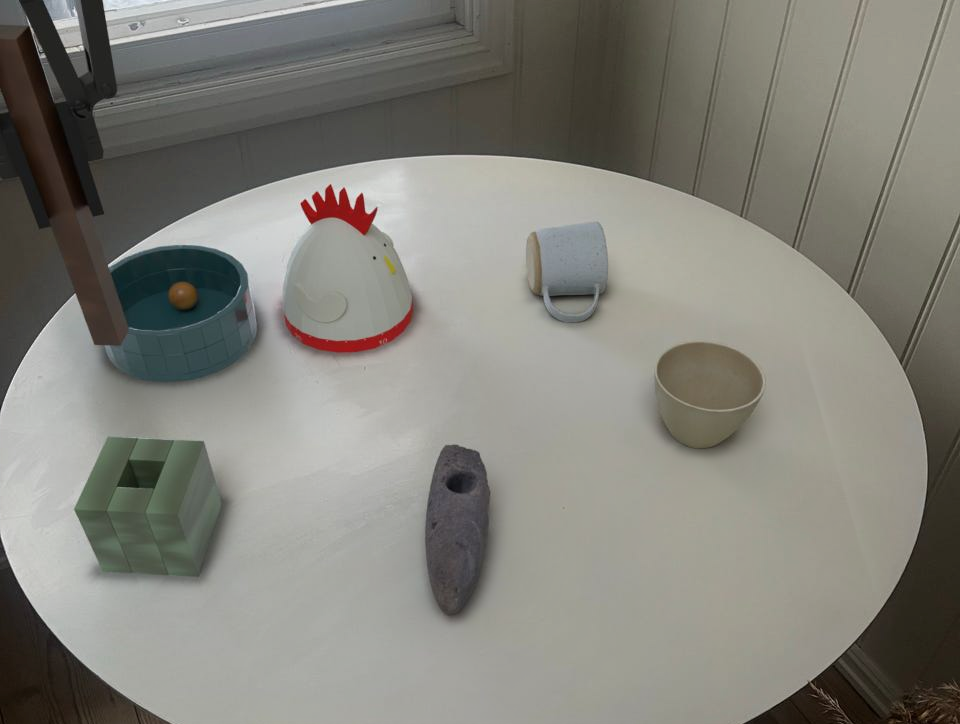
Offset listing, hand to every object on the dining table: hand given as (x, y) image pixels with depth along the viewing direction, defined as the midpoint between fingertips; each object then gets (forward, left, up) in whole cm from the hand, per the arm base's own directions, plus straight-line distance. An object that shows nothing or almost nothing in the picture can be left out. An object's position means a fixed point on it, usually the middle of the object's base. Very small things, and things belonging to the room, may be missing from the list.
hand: (67, 211), depth 61 cm
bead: (-5, +26, -26) cm, 37 cm away
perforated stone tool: (+26, -5, -29) cm, 39 cm away
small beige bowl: (+48, +12, -29) cm, 57 cm away
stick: (0, 0, -11) cm, 11 cm away
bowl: (-5, +23, -29) cm, 37 cm away
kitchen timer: (+12, +28, -29) cm, 42 cm away
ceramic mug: (+36, +33, -29) cm, 57 cm away
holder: (+1, -4, -29) cm, 29 cm away
